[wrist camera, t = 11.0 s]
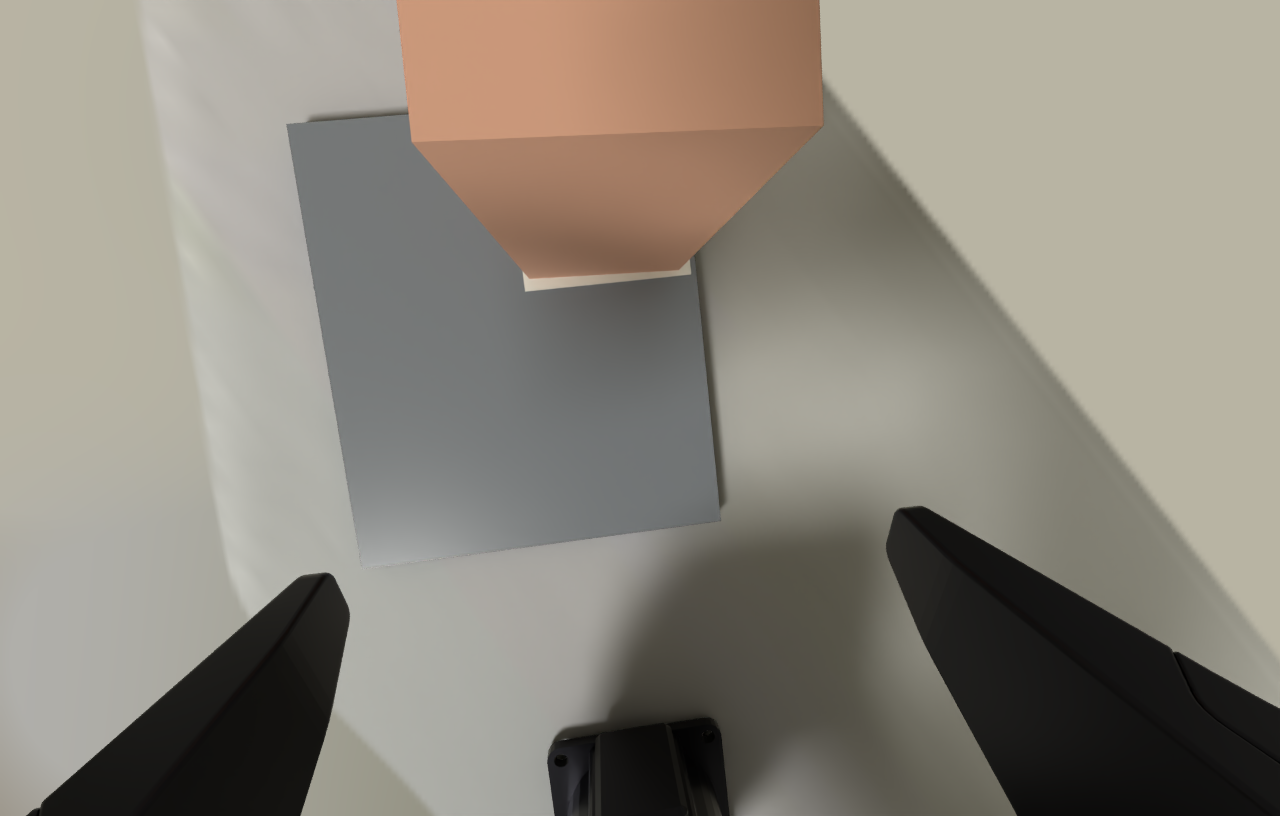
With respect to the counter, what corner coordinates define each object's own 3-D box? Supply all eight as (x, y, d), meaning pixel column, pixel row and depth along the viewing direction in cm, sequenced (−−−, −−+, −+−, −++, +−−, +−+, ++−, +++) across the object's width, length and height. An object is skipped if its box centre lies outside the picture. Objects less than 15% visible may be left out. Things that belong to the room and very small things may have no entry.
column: (678, 270, 19) (823, 125, 7) (529, 279, 18) (411, 142, 7) (669, 115, 18) (808, -329, 6) (515, 121, 18) (360, -338, 6)
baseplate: (717, 515, 20) (721, 521, 20) (368, 563, 20) (360, 570, 19) (675, 101, 19) (679, 91, 18) (296, 131, 18) (284, 122, 17)
